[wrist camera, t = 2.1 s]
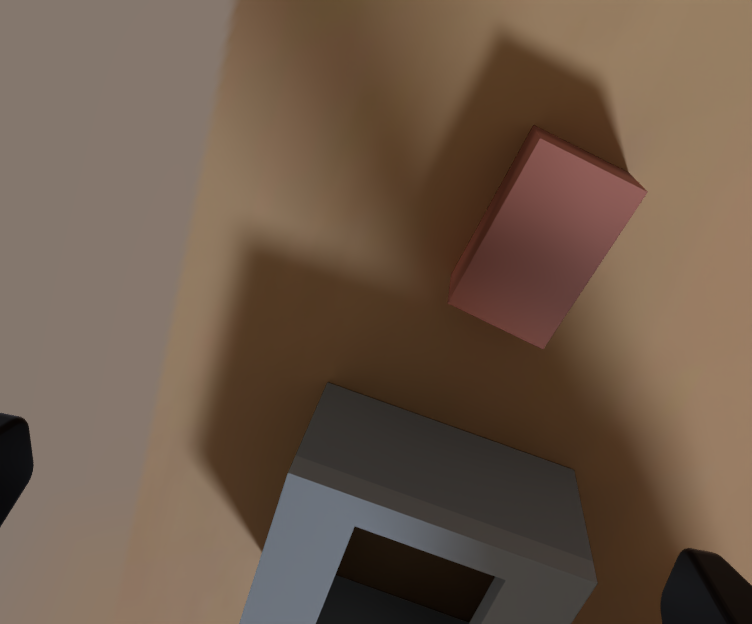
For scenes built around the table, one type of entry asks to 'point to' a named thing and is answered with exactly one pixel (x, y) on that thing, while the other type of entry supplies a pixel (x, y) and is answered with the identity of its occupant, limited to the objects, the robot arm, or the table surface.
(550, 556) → the posting box
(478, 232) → the pink rectangular block
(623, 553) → the table surface
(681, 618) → the robot arm
